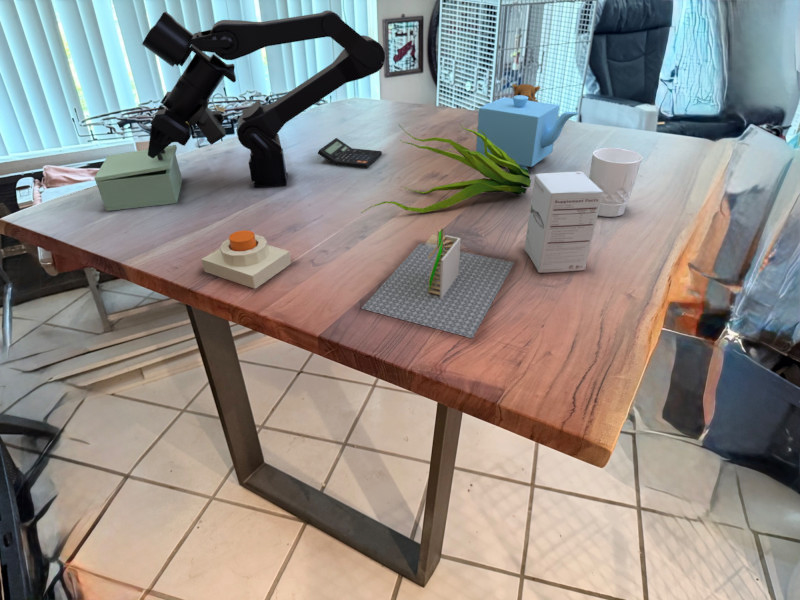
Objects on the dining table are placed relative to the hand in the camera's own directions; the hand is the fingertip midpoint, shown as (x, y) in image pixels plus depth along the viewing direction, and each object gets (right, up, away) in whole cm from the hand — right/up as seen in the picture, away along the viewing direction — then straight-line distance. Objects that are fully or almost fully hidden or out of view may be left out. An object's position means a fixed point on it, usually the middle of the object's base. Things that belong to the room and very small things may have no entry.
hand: (152, 152), depth 97 cm
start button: (+24, -20, -22) cm, 38 cm away
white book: (+53, -26, -24) cm, 64 cm away
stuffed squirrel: (+76, +12, +31) cm, 83 cm away
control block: (+24, -23, -20) cm, 39 cm away
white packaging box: (+70, -22, -19) cm, 76 cm away
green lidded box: (-3, -7, +4) cm, 9 cm away
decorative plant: (+57, -11, -2) cm, 57 cm away
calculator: (+36, +4, +20) cm, 41 cm away
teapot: (+74, +2, +16) cm, 75 cm away
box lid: (-3, -2, 0) cm, 3 cm away
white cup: (+84, -12, -4) cm, 85 cm away
